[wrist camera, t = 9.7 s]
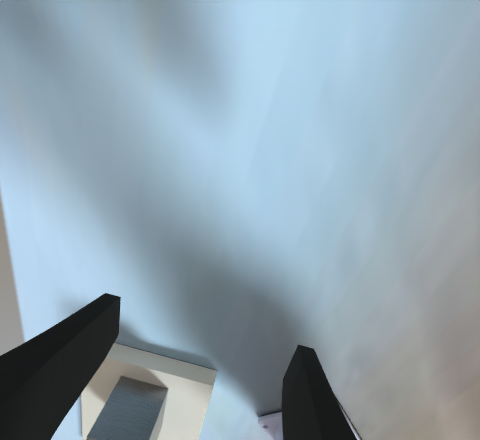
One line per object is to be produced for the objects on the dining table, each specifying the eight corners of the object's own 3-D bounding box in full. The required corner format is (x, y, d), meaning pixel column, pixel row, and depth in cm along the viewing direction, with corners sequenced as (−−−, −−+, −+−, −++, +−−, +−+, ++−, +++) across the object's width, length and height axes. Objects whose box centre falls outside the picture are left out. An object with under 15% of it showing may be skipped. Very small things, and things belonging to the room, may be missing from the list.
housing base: (90, 336, 26) (50, 387, 21) (216, 370, 26) (203, 430, 21) (91, 443, 34) (61, 498, 29) (188, 471, 33) (174, 530, 29)
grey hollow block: (121, 375, 25) (86, 436, 21) (168, 388, 25) (144, 453, 21) (118, 415, 28) (87, 477, 23) (161, 426, 28) (138, 492, 23)
